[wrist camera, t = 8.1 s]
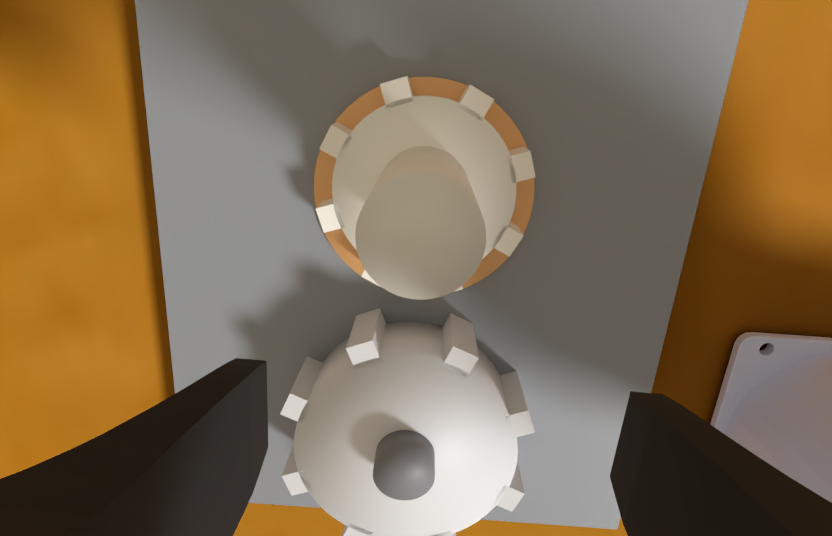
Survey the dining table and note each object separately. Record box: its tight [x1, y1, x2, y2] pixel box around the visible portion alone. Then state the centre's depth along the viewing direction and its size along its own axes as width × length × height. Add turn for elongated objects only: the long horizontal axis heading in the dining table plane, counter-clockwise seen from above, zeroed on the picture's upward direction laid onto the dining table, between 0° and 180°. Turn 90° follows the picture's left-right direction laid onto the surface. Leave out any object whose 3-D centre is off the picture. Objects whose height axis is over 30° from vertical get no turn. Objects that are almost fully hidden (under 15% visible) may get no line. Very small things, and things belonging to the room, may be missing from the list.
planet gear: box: [316, 76, 535, 300], centre depth 14 cm, size 6×6×6 cm
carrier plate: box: [135, 0, 748, 536], centre depth 17 cm, size 18×20×4 cm
